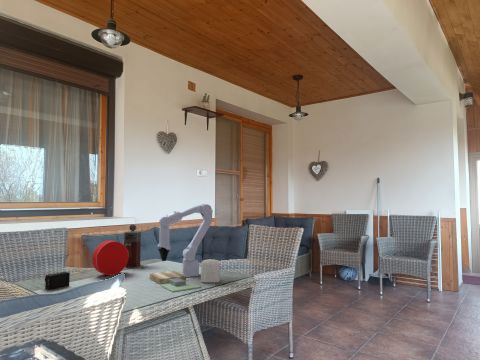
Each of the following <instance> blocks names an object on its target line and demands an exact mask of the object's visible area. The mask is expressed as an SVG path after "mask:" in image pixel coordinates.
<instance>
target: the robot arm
mask: <svg viewBox="0 0 480 360" xmlns="http://www.w3.org/2000/svg"><path fill="white" fill-rule="evenodd" d="M196 213H197V214H199V215H201V218H202V222H201V224H200V226H199V227H198V229H197V231H196V233H195V234H194V236H193V238H192V239H191V241H190V243H189V244H188V245H187V247H186V248H184V249H183V251H182V257H183V259H182V273H181V274H183V275H185V276H186V278H190V277H191V278H192V277H198V276H200V263H199V260H197V259H195V258H196V253H197V251H198V247H199V246H200V244H201V242H202V240H203V239H204V238H205V235H206V233H207V232H208V230H209V229H210V227H211V225H212V222H213V208H212V206H211V205H210V204H207V203H201V204H198V205H195V206H192V207H190V208H188V209H186V210H183V211H181V212H180V211H173V213H170V214H166V215H165V216H162V217H160V219H159V222H158V224H159V235H158V236H159V243H157V248H158V252H159V254H160V259H161V261H162V262H166V261H167V258H168V255H169V252H170V251H171V249H172V247H171V245H170V225H173V224H176V223H178V222H181V221H182V219H183V218H184V217H187V216H190V215H193V214H196Z"/></svg>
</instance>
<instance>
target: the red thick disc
mask: <svg viewBox="0 0 480 360" xmlns="http://www.w3.org/2000/svg"><path fill="white" fill-rule="evenodd" d="M128 258H129V254H128V250H127V248H126V246H125V245H124V243H122V242H120V241H116V240H105V241H103V242H101V243H99V244H98V245H97V247H95V249H94V251H93V253H92V259H91V260H92V261H91V263H92V265H93V267H94V269H95V271H97V272H98V273H99V274H103V275H105V276H114V275H113V274H116V275H118V274H120V273H121V272H123V270H124V269H125V268H126V267H125V266H126V265H127V262H128Z"/></svg>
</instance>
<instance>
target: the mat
mask: <svg viewBox="0 0 480 360" xmlns="http://www.w3.org/2000/svg"><path fill="white" fill-rule="evenodd" d="M159 286H160V287H162V288H164V290H165V289H166V290H168V291H169V292H171V293H176V292H181V291H188V290H190V291H191V290H195V289H201V288H202V286H201V285H198V284H196V283H194V282H192V281H190V280H187V279H186V285H181V286H173V285H171V284H169V283H165V284H160V285H159Z"/></svg>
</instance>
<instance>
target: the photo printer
mask: <svg viewBox="0 0 480 360" xmlns="http://www.w3.org/2000/svg"><path fill="white" fill-rule="evenodd" d="M220 267H221V264H220V261H219V260H217V259H213V258H212V259H211V258H208V259H204V260H202V261H201V268H200V282H201V283H220V280H221V279H220V272H221V271H220V269H221V268H220Z"/></svg>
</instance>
